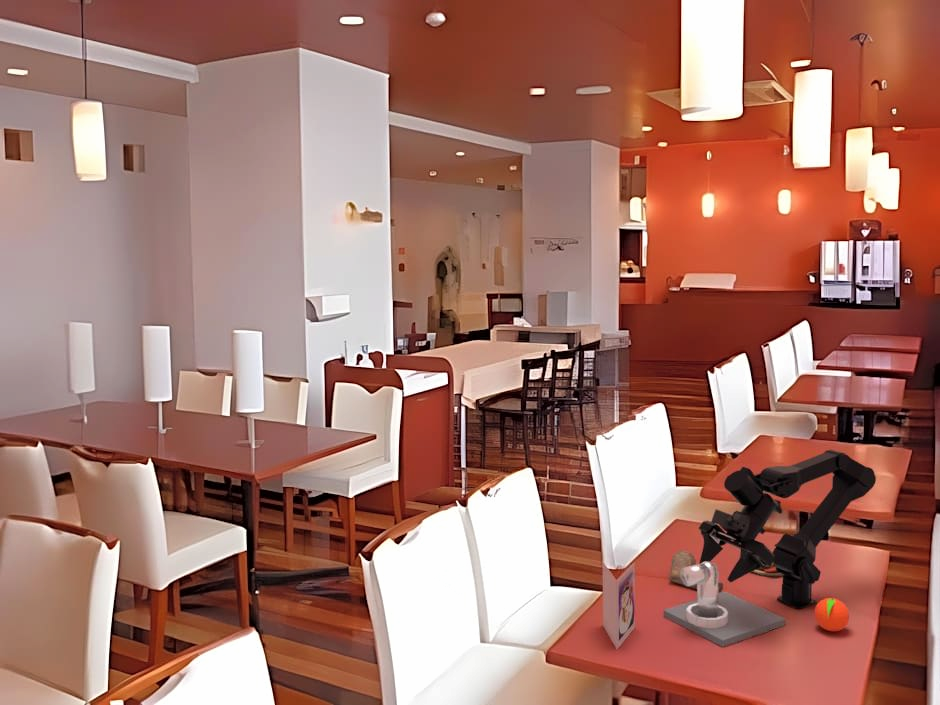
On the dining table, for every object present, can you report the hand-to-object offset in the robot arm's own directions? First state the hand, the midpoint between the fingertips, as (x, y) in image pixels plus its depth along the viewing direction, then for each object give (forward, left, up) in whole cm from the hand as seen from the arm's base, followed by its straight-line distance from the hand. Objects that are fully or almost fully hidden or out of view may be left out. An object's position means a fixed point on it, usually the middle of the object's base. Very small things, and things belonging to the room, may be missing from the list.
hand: (714, 573), depth 190 cm
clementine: (-19, +16, -12) cm, 27 cm away
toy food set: (-36, -16, -12) cm, 41 cm away
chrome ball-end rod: (+4, 0, -10) cm, 11 cm away
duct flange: (-3, 0, -12) cm, 12 cm away
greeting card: (+22, -8, -12) cm, 26 cm away
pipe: (-13, -19, -12) cm, 26 cm away
